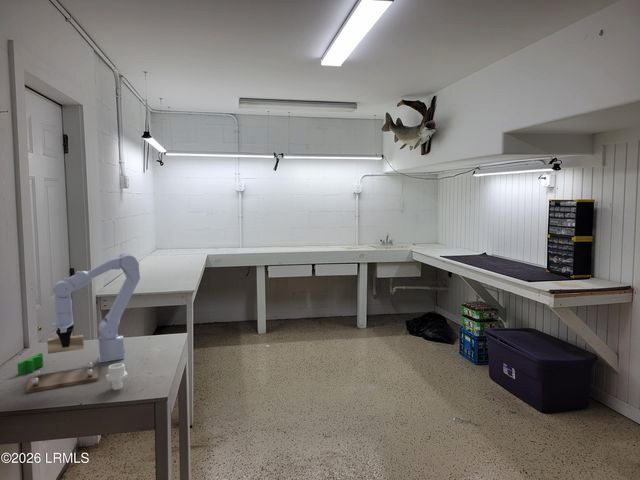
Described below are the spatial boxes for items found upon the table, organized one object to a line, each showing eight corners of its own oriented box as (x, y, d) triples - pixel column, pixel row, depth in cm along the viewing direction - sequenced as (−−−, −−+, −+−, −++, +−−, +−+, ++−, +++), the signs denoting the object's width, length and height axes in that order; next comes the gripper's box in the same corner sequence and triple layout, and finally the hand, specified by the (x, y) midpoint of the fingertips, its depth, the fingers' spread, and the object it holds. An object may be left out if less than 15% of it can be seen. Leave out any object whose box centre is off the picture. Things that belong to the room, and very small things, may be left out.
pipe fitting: (124, 391, 149) (123, 368, 148) (103, 392, 149) (101, 369, 148) (131, 383, 155) (130, 361, 155) (110, 384, 155) (109, 362, 154)
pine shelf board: (48, 351, 170) (48, 338, 170) (83, 346, 175) (83, 334, 175) (48, 353, 167) (47, 341, 167) (83, 349, 173) (82, 336, 172)
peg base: (98, 369, 169) (98, 359, 169) (98, 380, 158) (97, 370, 158) (31, 380, 159) (30, 370, 159) (26, 392, 148) (25, 382, 148)
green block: (27, 375, 164) (26, 363, 163) (18, 375, 164) (17, 363, 164) (49, 364, 175) (48, 353, 175) (40, 363, 175) (39, 352, 175)
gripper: (54, 308, 175) (56, 341, 176) (49, 317, 162) (52, 353, 163) (74, 306, 178) (76, 339, 179) (71, 315, 165) (73, 350, 166)
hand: (66, 345), depth 171 cm, fingers closed on pine shelf board, 3 cm apart
